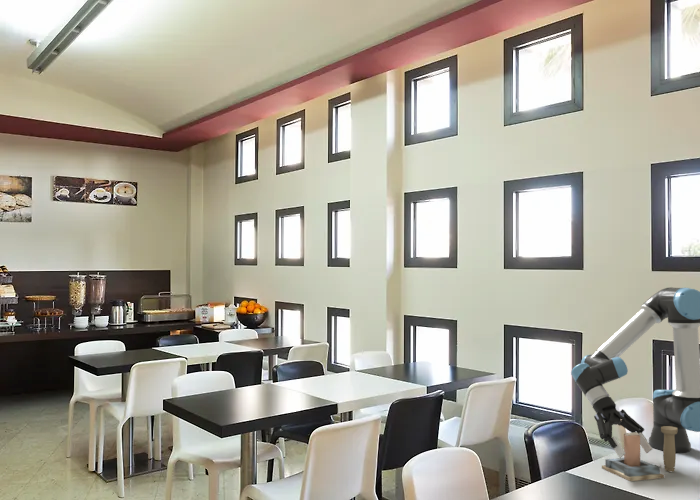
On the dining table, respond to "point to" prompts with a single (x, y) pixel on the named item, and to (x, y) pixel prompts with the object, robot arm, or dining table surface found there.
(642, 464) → the square frame tray
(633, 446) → the copper orange rectangular block
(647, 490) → the dining table surface
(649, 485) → the dining table surface
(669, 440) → the handle
